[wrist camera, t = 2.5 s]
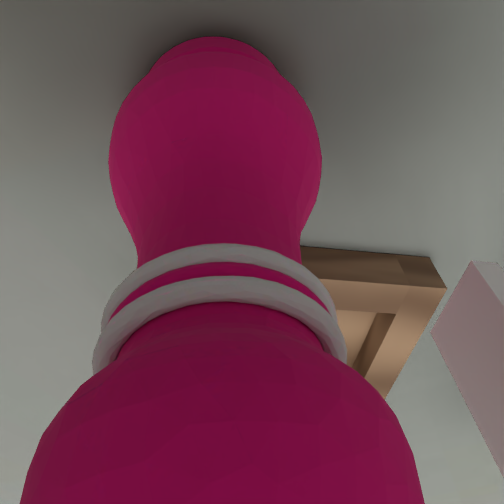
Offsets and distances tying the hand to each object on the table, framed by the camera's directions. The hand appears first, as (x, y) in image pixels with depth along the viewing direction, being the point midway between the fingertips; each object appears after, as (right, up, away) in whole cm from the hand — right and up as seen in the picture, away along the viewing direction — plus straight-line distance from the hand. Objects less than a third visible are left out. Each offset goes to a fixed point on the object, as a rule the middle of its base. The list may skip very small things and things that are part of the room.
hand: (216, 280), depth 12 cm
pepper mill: (-1, +7, +8) cm, 11 cm away
